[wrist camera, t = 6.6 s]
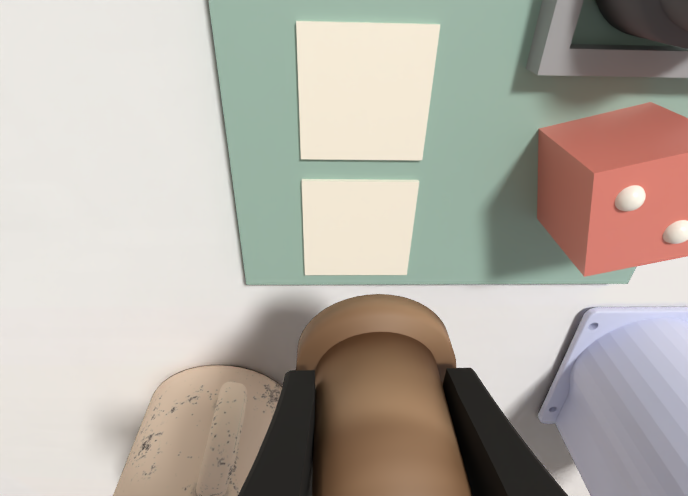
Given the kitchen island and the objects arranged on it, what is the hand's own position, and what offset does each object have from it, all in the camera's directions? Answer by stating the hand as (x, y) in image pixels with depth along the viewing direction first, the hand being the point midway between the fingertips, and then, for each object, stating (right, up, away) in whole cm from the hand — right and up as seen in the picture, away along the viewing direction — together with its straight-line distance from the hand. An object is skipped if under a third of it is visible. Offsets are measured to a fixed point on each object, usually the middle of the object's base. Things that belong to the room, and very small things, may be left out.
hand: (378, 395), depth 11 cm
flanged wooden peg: (0, +1, +1) cm, 1 cm away
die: (+9, +7, +6) cm, 13 cm away
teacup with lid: (-8, -5, +15) cm, 17 cm away
